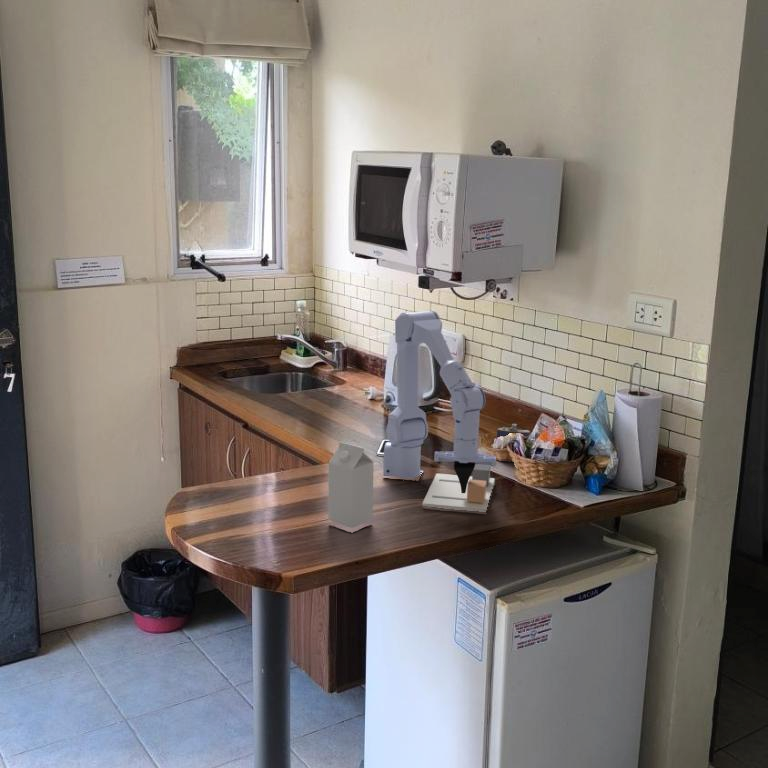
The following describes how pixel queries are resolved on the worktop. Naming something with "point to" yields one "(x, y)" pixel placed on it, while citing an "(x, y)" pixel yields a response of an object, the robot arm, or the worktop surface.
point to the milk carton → (350, 486)
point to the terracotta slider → (476, 491)
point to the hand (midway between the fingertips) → (463, 491)
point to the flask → (511, 431)
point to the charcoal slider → (481, 473)
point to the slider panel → (454, 494)
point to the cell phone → (382, 447)
